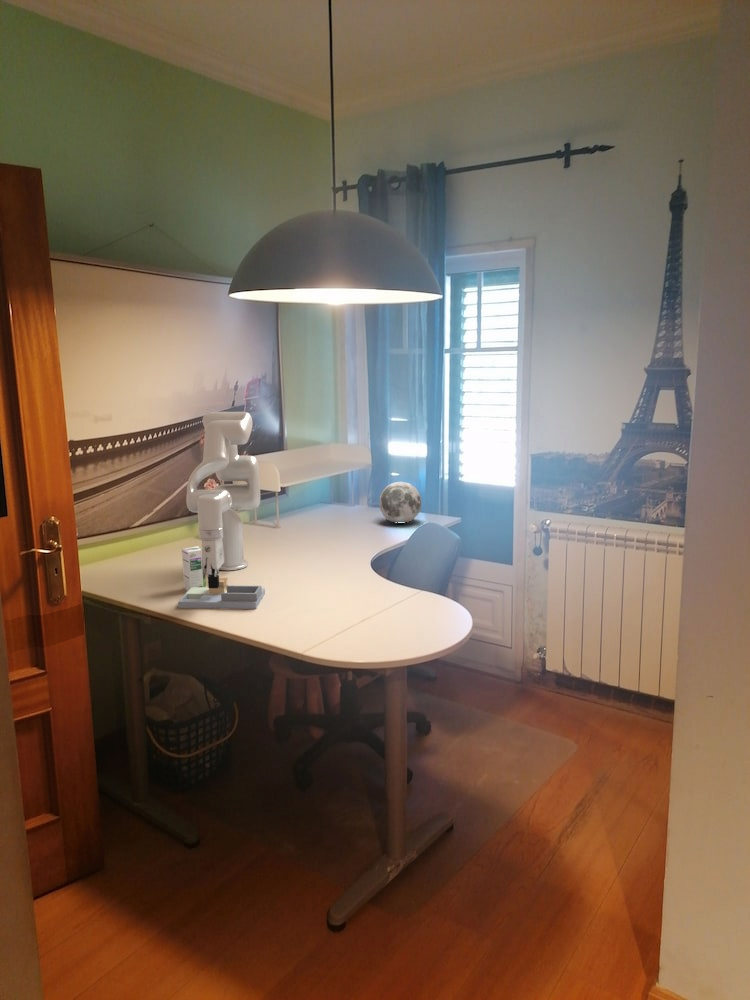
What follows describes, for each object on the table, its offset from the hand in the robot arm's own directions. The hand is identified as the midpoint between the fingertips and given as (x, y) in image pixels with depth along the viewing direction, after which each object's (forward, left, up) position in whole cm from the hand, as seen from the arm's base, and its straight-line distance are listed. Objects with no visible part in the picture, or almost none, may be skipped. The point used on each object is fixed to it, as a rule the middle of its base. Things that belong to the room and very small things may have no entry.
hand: (213, 587), depth 239 cm
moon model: (-115, +60, -5) cm, 130 cm away
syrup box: (-13, -10, -5) cm, 17 cm away
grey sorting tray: (-1, +2, -5) cm, 6 cm away
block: (-5, 0, -3) cm, 6 cm away
